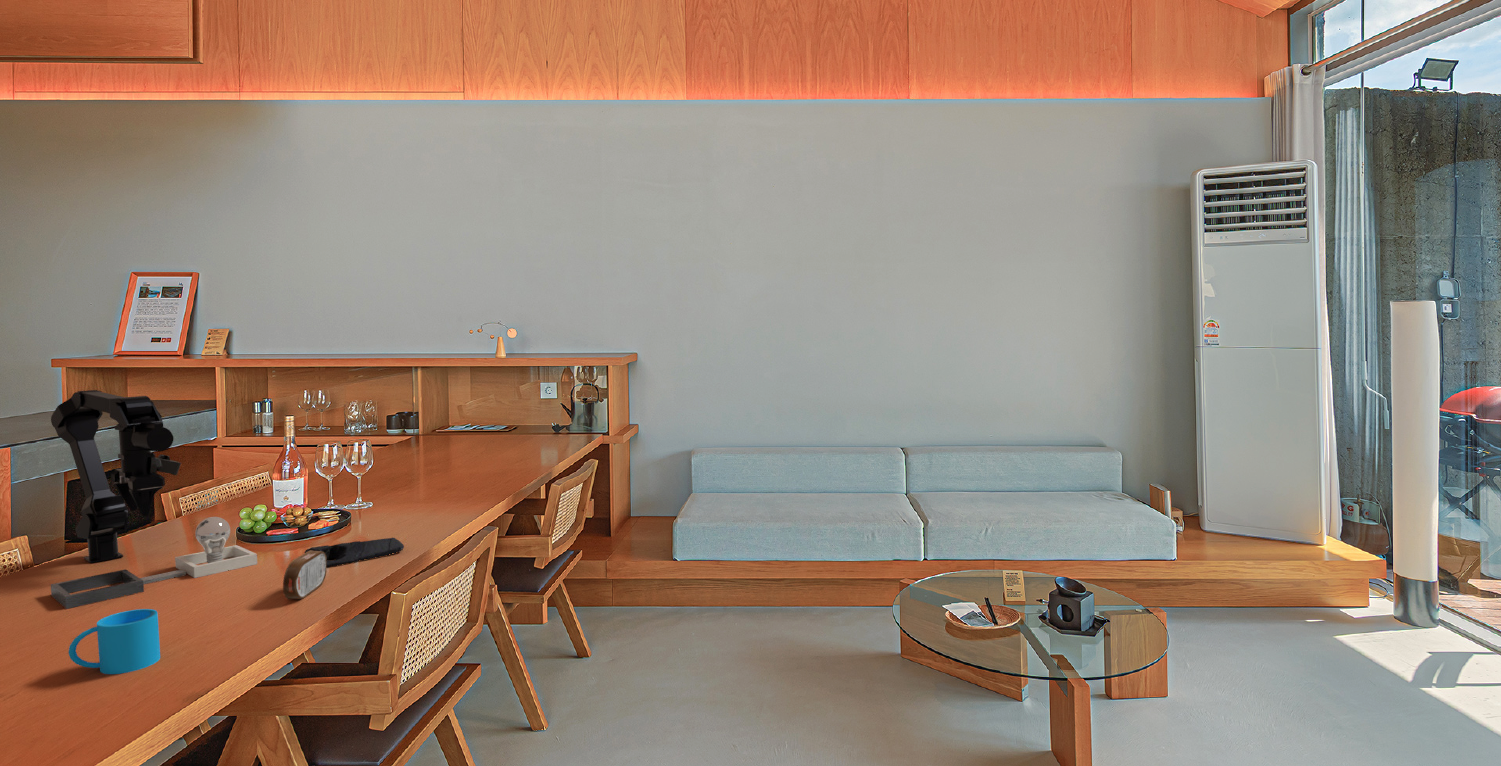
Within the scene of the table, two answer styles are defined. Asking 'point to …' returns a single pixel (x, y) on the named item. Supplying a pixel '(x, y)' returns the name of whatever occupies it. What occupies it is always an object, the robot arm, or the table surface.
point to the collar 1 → (69, 601)
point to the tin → (304, 574)
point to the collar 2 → (240, 560)
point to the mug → (123, 642)
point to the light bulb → (213, 537)
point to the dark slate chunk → (358, 550)
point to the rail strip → (163, 576)
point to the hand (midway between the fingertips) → (139, 513)
